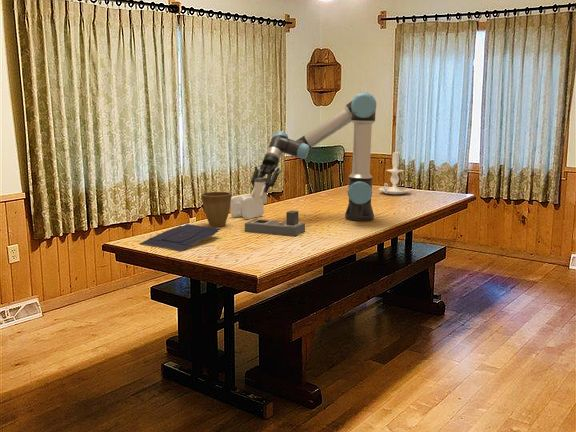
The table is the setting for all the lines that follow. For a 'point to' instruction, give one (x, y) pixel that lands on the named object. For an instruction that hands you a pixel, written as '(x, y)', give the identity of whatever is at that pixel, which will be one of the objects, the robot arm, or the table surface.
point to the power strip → (277, 225)
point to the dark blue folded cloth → (181, 237)
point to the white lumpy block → (245, 207)
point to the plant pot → (216, 207)
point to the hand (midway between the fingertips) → (257, 196)
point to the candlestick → (394, 179)
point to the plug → (259, 190)
